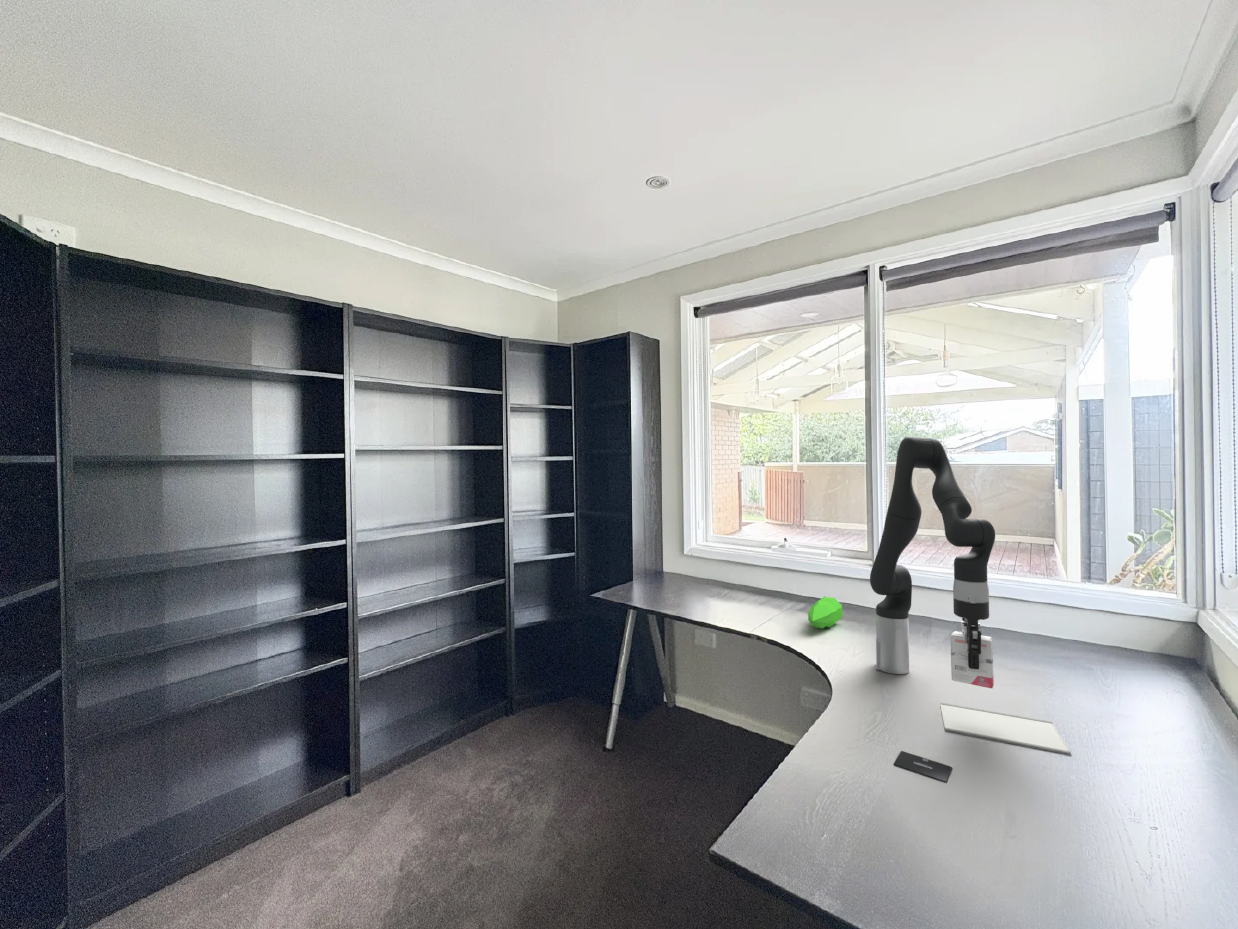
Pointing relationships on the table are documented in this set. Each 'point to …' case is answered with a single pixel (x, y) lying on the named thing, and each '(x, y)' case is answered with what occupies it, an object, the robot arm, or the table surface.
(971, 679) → the ink box
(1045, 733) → the mat
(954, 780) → the table surface
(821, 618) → the green faceted egg part
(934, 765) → the solid state drive
